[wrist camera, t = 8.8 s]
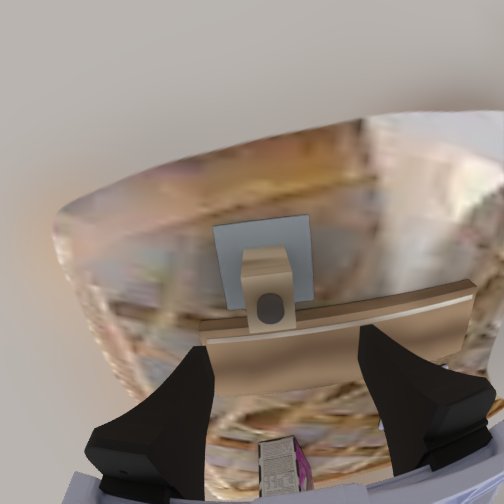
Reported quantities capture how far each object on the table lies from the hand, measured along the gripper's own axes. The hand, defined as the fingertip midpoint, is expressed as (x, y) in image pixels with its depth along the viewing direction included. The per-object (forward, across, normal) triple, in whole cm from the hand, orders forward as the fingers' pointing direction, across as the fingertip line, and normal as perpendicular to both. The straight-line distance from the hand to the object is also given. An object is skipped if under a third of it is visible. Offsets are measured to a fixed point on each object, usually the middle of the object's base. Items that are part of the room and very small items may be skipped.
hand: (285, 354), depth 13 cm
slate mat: (+10, 0, 0) cm, 10 cm away
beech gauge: (+10, 0, 0) cm, 10 cm away
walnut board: (+10, -6, +8) cm, 15 cm away
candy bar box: (+11, +1, +28) cm, 30 cm away
